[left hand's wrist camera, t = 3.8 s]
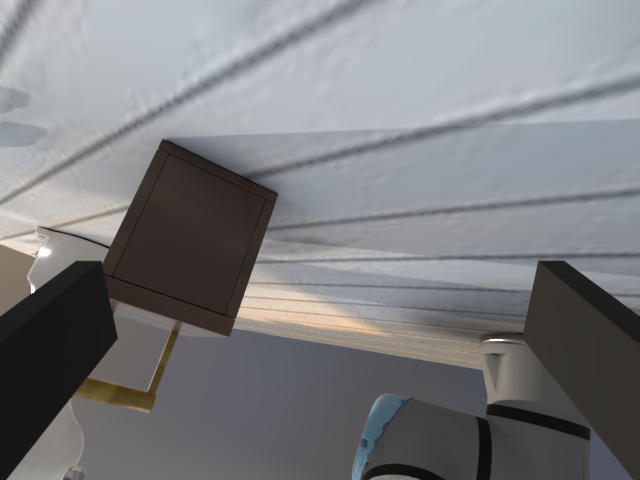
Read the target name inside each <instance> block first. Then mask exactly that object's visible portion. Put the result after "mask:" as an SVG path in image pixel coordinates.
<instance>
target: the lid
mask: <svg viewBox="0 0 640 480" xmlns="http://www.w3.org/2000/svg"><path fill="white" fill-rule="evenodd" d="M105 279H106V284H107V289H108V294H109V299H110V303H111V308H112V313H113V314H116V315H119V316H122V317H125V318H129V319H132V320H135V321H138V322H142V323H145V324H148V325H151V326H154V327H158V328H161V329H164V330H167V331H170V334H169V337H168V339H167V342H166V344H165V347H164V349H163V352H162V355H161V357H160V360H159V362H158V365H157V367H156V370H155V372H154V375H153V377H152V380H151V382H150V385H149V387H148V390H147V391H144V390H140V389H136V388H132V387H128V386H125V385H121V384H117V383H113V382H109V381H105V380H101V379H97V378H93V377H89V376H88V377H87V378H86V380H85V381H84V382H83V383H82V385H81V386H80V387H79V388H78V390H77V391H76V392H75V394H74V395H73V396H74V397H78V398H83V399H87V400H91V401H96V402H100V403H104V404H109V405H113V406H117V407H122V408H126V409H130V410H135V411H139V412H143V413H148V414H149V413H150V411H151V410H152V407H153V405H154V402H155V399H156V390H157V388H158V385H159V382H160V380H161V377H162V375H163V372H164V370H165V367H166V364H167V362H168V359H169V357H170V354H171V351H172V349H173V346H174V344H175V341H176V339H177V336H178V334H180V335H184V336H201V337H229V336H230V334H231V331H232V328H233V325H234V322H235V319H232V318H229V317H226V316H223V315H220V314H218V313H215V312H212V311H209V310H206V309H203V308H200V307H197V306H194V305H191V304H188V303H185V302H182V301H179V300H176V299H174V298H171V297H168V296H165V295H162V294H159V293H156V292H153V291H150V290H147V289H144V288H141V287H138V286H135V285H133V284H130V283H127V282H124V281H121V280H118V279H115V278H112V277H109V276H106V275H105Z"/></svg>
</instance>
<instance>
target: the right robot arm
mask: <svg viewBox="0 0 640 480" xmlns="http://www.w3.org/2000/svg"><path fill="white" fill-rule="evenodd" d="M35 233H36V235H37V236H38V238H39V240H40V241H41V243H42V244H43V247H42V248H41V250H39V251H38V252H37V253H36V257H37V258H36V260H35V262H34V264H33V266H32V268H31V269H30V271H29V273H28V275H27V278H28V279H29V280H28V281H29V283H30V285H31V294H32V293H33V292H34V291H36V290H37V289H38V288H40V287H41V286H42V285H44V284H45V283H46V282H48V281H49V280H51V279H52V278H53V277H55V276H56V275H57V274H59V273H60V272H61V271H63V270H64V269H66V268H67V267H68V266H70V265H71V264H72V263H74V262H75V261H102V263H103V261H104V259H105V257H106V255H107V253H108V250H109V249H108V248H105V247H103V246H100V245H98V244H95V243H93V242H90V241H87V240H84V239H81V238H78V237H74V236H71V235H67V234H63V233H58V232H53V231H50V230H47V229H44V228H40V227H37V229H36V231H35ZM29 295H30V294H28V295H27V296H29ZM83 445H84V437H83V432H82V429H81V427H80V425H79V424H78V423H77V421H76V419H75V417H74V415H73V411H72V406H71V399H70V400H69V401H68V402H67V404H66V405H65V406H64V407H63V409H62V410H61V411H60V413H59V414H58V415H57V416H56V418H55V419H54V420H53V421H52V423H51V424H50V425H49V427H48V428H47V429H46V430H45V432H44V433H43V434H42V435H41V437H40V438H39V439H38V441H37V442H36V443H35V444H34V446H33V447H32V448H31V449H30V451H29V452H28V453H27V455H26V456H25V457H24V458H23V460H22V461H21V462H20V463H19V465H18V466H17V467H16V468H15V470H14V471H13V472H12V474H11V475H10V476H9V477H8V479H7V480H84V478H85V474H86V470H85V468H83V467H77V466H76V465H77V463H78V461H79V459H80V457H81V454H82V451H83Z"/></svg>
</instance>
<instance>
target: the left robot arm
mask: <svg viewBox="0 0 640 480" xmlns="http://www.w3.org/2000/svg"><path fill="white" fill-rule="evenodd" d="M117 339H118V337H117V332H116V327H115V322H114V318H113V313H112V308H111V303H110V299H109V294H108V289H107V284H106V279H105V275H104V270H103V265H102V261H75V262H74V263H72V264H71V265H70V266H68V267H67V268H66V269H64V270H63V271H61V272H60V273H59V274H57V275H56V276H55V277H53V278H52V279H51V280H49V281H48V282H46V283H45V284H44V285H42V286H41V287H40V288H38V289H37V290H36V291H34V292H33V293H32V294H30V295H29V296H27V297H26V298H25V299H23V300H22V301H21V302H19V303H18V304H17V305H15V306H14V307H12V308H11V309H10V310H8V311H7V312H6V313H4V314H3V315H2V316H0V480H7V479H8V477H9V476H10V475H11V474H12V472H13V471H14V470H15V468H16V467H17V466H18V465H19V463H20V462H21V461H22V460H23V458H24V457H25V456H26V455H27V453H28V452H29V451H30V449H31V448H32V447H33V446H34V444H35V443H36V442H37V441H38V439H39V438H40V437H41V435H42V434H43V433H44V432H45V430H46V429H47V428H48V427H49V425H50V424H51V423H52V421H53V420H54V419H55V418H56V416H57V415H58V414H59V413H60V411H61V410H62V409H63V407H64V406H65V405H66V404H67V402H68V401H69V400H70V399H71V397H72V396H73V395H74V394H75V392H76V391H77V390H78V388H79V387H80V386H81V385H82V383H83V382H84V381H85V380H86V378H87V377H88V376H89V374H90V373H91V372H92V371H93V369H94V368H95V367H96V365H97V364H98V363H99V362H100V360H101V359H102V358H103V357H104V355H105V354H106V353H107V352H108V350H109V349H110V348H111V346H112V345H113V344H114V343H115V341H116V340H117ZM479 348H480V359H481V364H482V369H483V374H484V379H485V384H486V389H487V394H488V402H487V412H486V417H485V419H484V418H480V417H476V416H473V415H469V414H466V413H462V412H459V411H455V410H451V409H448V408H444V407H441V406H437V405H434V404H430V403H427V402H423V401H419V400H416V399H414V398H413V397H402V396H398V395H394V394H384V395H382V396H380V397H379V398H378V399H377V400H376V402H375V403H374V405H373V407H372V409H371V412H370V414H369V417H368V420H367V422H366V425H365V428H364V431H363V434H362V438H361V442H360V444H359V447H358V450H357V453H356V457H355V461H354V465H353V470H352V479H353V480H589V471H590V427H591V426H592V428H593V429H594V430H595V432H596V433H597V434H598V435H599V437H600V438H601V439H602V440H603V442H604V443H605V444H606V446H607V447H608V448H609V449H610V451H611V452H612V453H613V454H614V456H615V457H616V458H617V460H618V461H619V462H620V463H621V465H622V466H623V467H624V468H625V470H626V471H627V472H628V474H629V475H630V476H631V477H632V479H633V480H640V316H638V315H637V314H636V313H634V312H633V311H632V310H630V309H629V308H628V307H626V306H625V305H623V304H622V303H621V302H619V301H618V300H617V299H615V298H614V297H613V296H611V295H610V294H608V293H607V292H606V291H604V290H603V289H602V288H600V287H599V286H598V285H596V284H595V283H594V282H592V281H591V280H589V279H588V278H587V277H585V276H584V275H583V274H581V273H580V272H579V271H577V270H576V269H574V268H573V267H572V266H570V265H569V264H568V263H566V262H565V261H538V265H537V270H536V275H535V279H534V284H533V289H532V294H531V299H530V303H529V308H528V313H527V318H526V322H525V327H524V332H523V334H508V333H498V334H489V335H485V336H483V337H481V339H480V347H479Z"/></svg>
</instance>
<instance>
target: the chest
mask: <svg viewBox="0 0 640 480" xmlns="http://www.w3.org/2000/svg"><path fill="white" fill-rule="evenodd" d="M277 196H278V195H277V194H276V193H273V192H271V191H269V190H267V189H265V188H263V187H261V186H259V185H257V184H255V183H253V182H251V181H249V180H246V179H244V178H242V177H240V176H238V175H236V174H234V173H232V172H230V171H228V170H226V169H224V168H221V167H219V166H217V165H215V164H213V163H211V162H209V161H207V160H205V159H203V158H201V157H199V156H196V155H194V154H192V153H190V152H188V151H186V150H184V149H182V148H180V147H178V146H176V145H174V144H172V143H169V142H167V141H165V140H162V141H161V143H160V145H159V147H158V149H157V151H156V153H155V155H154V157H153V159H152V161H151V163H150V166H149V168H148V170H147V172H146V174H145V176H144V178H143V180H142V182H141V184H140V186H139V188H138V190H137V192H136V195H135V197H134V199H133V201H132V203H131V205H130V207H129V209H128V211H127V213H126V215H125V217H124V219H123V221H122V224H121V226H120V228H119V230H118V232H117V234H116V236H115V238H114V240H113V242H112V244H111V246H110V248H109V250H108V253H107V255H106V257H105V259H104V261H103V263H102V265H103V270H104V275H106V276H109V277H112V278H115V279H118V280H121V281H124V282H127V283H130V284H133V285H135V286H138V287H141V288H144V289H147V290H150V291H153V292H156V293H159V294H162V295H165V296H168V297H171V298H174V299H176V300H179V301H182V302H185V303H188V304H191V305H194V306H197V307H200V308H203V309H206V310H209V311H212V312H215V313H218V314H220V315H223V316H226V317H229V318H232V319H236V316H237V313H238V311H239V308H240V305H241V302H242V299H243V296H244V293H245V290H246V287H247V284H248V281H249V278H250V276H251V273H252V270H253V267H254V264H255V261H256V258H257V255H258V252H259V249H260V246H261V244H262V241H263V238H264V235H265V232H266V229H267V226H268V223H269V220H270V217H271V214H272V211H273V209H274V206H275V202H276V199H277Z"/></svg>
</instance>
